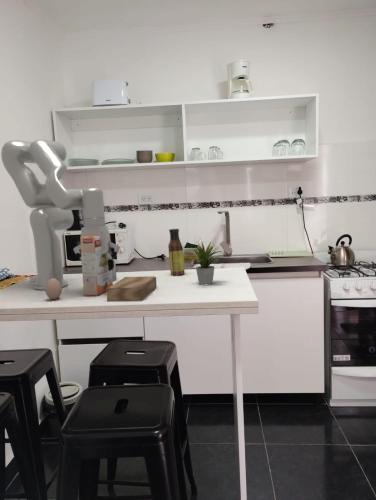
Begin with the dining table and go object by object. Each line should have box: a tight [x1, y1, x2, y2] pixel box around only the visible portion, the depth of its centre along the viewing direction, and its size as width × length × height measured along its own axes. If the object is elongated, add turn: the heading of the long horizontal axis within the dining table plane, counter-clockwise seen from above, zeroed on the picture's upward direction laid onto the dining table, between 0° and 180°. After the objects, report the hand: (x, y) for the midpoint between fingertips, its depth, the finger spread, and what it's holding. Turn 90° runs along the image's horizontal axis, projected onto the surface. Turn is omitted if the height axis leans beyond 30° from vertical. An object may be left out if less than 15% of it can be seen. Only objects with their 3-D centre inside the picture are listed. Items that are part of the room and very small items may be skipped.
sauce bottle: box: [167, 228, 186, 276], centre depth 177 cm, size 6×6×20 cm
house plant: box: [189, 241, 225, 286], centre depth 154 cm, size 14×14×16 cm
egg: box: [45, 278, 63, 301], centre depth 141 cm, size 5×5×7 cm
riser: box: [105, 275, 158, 302], centre depth 144 cm, size 12×20×4 cm, turn 171°
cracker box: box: [79, 233, 114, 297], centre depth 149 cm, size 14×6×21 cm, turn 168°
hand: (98, 270), depth 149 cm, fingers open, 9 cm apart
